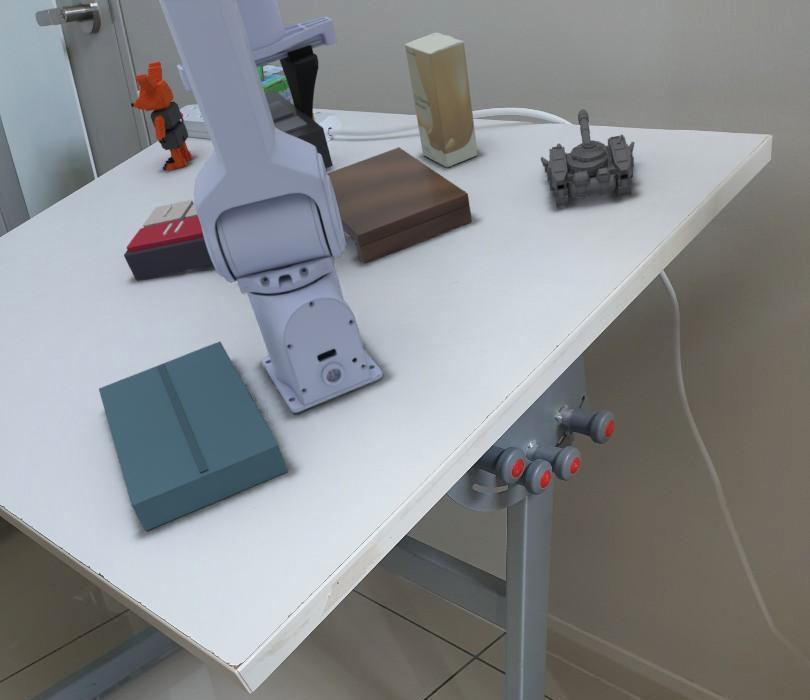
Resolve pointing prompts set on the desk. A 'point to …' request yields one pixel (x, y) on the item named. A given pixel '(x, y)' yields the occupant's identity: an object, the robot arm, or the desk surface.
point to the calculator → (168, 242)
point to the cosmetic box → (442, 98)
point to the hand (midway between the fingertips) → (284, 146)
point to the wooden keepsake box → (396, 203)
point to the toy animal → (163, 115)
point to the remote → (298, 124)
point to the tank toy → (590, 166)
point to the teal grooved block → (188, 435)
